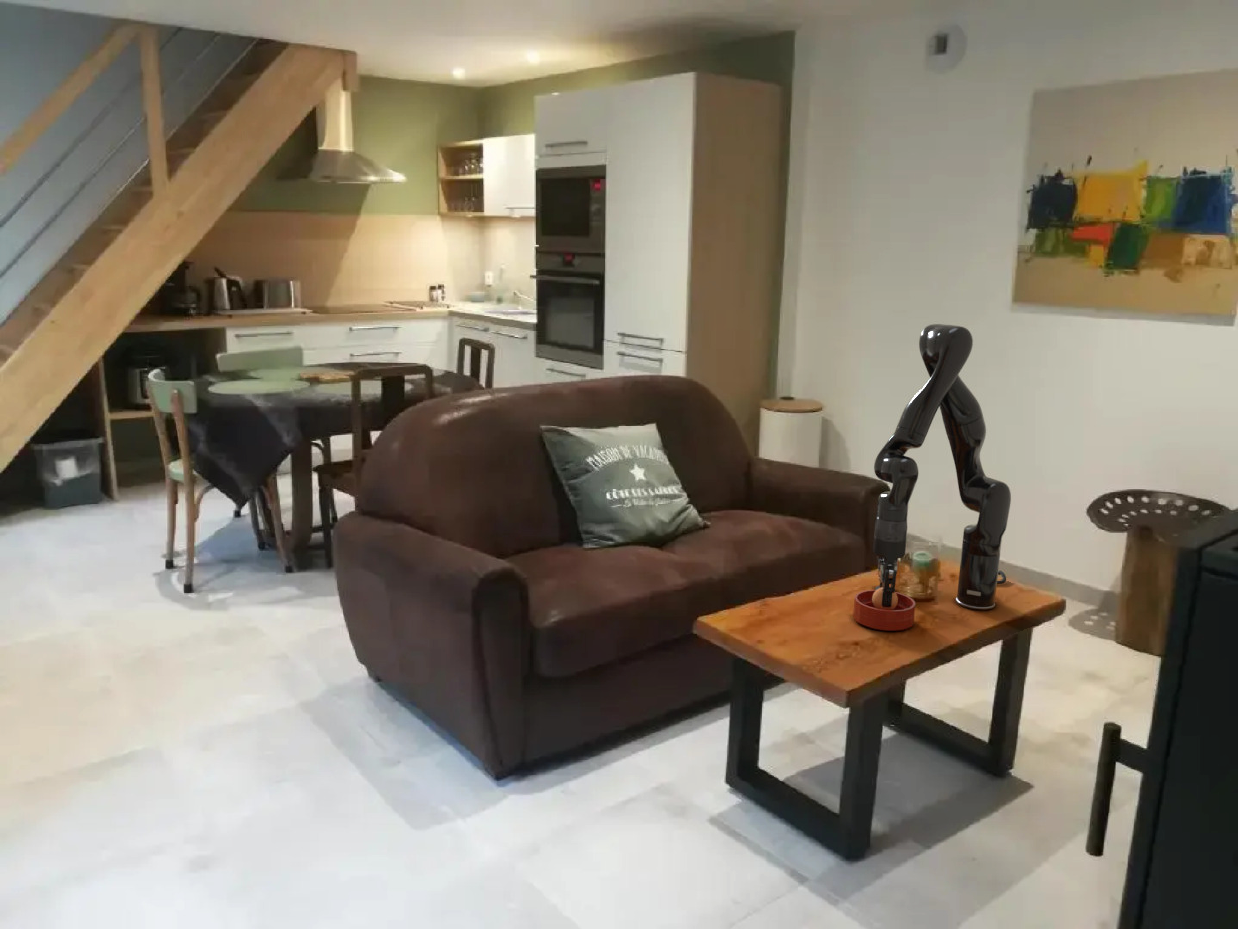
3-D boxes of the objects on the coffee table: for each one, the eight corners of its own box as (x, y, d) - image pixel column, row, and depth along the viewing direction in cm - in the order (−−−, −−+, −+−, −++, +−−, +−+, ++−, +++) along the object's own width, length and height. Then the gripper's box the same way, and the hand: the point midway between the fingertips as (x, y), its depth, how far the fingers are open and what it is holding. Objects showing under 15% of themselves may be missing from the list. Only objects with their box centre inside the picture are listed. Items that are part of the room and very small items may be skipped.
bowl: (868, 606, 247) (870, 585, 246) (922, 620, 238) (924, 599, 237) (843, 622, 236) (844, 601, 235) (898, 637, 227) (900, 615, 226)
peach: (877, 604, 241) (879, 579, 239) (900, 610, 237) (903, 584, 235) (867, 611, 236) (869, 585, 235) (890, 617, 232) (892, 591, 231)
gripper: (910, 545, 225) (904, 614, 229) (902, 528, 238) (897, 592, 242) (877, 543, 226) (871, 611, 230) (871, 526, 240) (866, 590, 243)
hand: (884, 601), depth 236 cm, fingers closed on peach, 6 cm apart
